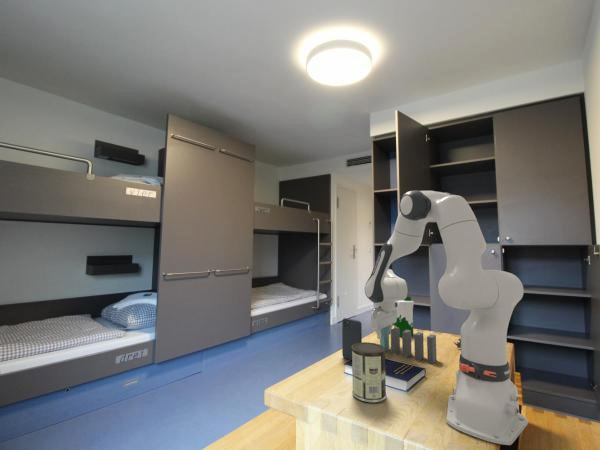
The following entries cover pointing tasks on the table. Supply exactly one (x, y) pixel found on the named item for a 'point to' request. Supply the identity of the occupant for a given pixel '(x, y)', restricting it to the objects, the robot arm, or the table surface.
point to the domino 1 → (385, 338)
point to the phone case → (350, 336)
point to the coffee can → (368, 372)
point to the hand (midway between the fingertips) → (384, 336)
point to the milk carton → (405, 315)
